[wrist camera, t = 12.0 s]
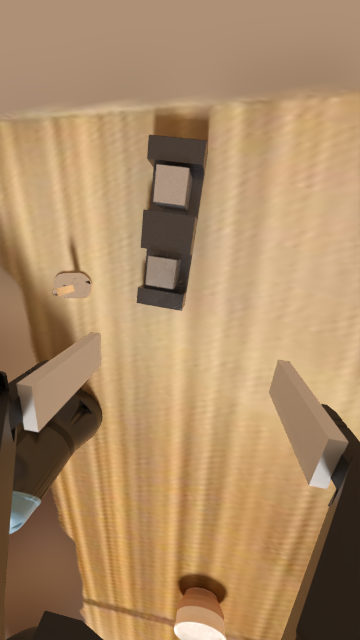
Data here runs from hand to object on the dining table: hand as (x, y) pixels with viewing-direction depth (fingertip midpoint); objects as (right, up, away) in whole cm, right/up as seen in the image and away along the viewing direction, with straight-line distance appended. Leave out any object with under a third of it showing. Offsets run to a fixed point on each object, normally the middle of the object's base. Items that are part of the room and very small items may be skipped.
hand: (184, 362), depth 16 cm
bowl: (+7, -91, +56) cm, 107 cm away
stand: (-21, +10, +27) cm, 36 cm away
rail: (-2, +18, +21) cm, 27 cm away
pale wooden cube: (-1, +23, +18) cm, 30 cm away
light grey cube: (-3, +12, +22) cm, 25 cm away
